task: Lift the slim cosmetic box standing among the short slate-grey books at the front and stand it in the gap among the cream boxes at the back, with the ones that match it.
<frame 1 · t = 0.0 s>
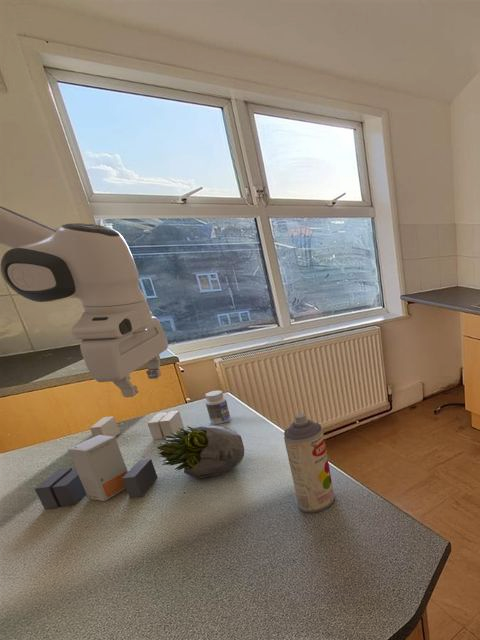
hand: (144, 386, 85), 23 cm above the counter, tool pointing down, fingers open, 8 cm apart
pill bottle: (221, 421, 121), on the counter
aerosol can: (317, 503, 89), on the counter
grey books: (111, 491, 90), on the counter
potted plant: (209, 473, 97), on the counter
cosmetic box: (112, 492, 91), on the counter
white books: (136, 436, 112), on the counter
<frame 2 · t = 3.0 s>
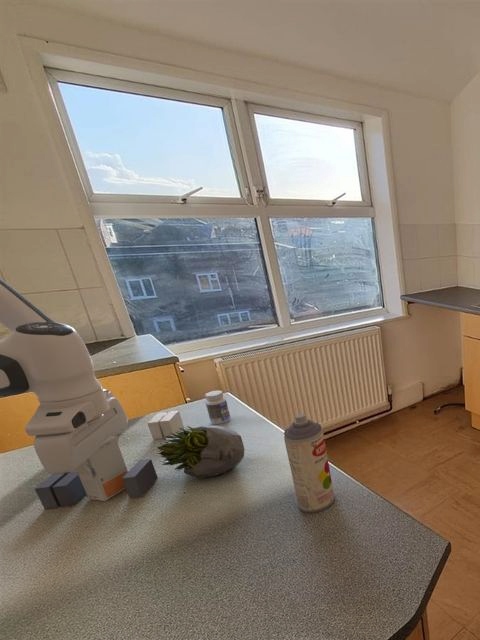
hand: (101, 467, 88), 6 cm above the counter, tool pointing down, fingers closed on cosmetic box, 7 cm apart
cosmetic box: (112, 492, 91), on the counter, touching gripper
everything else where it was.
when the fingers open (6 cm above the counter, at t = 12.0 s): cosmetic box stays where it is, on the counter.
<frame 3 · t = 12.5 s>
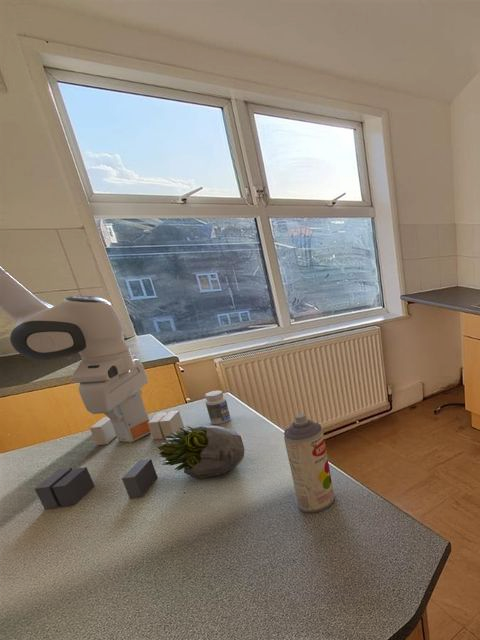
hand: (128, 414, 109), 6 cm above the counter, tool pointing down, fingers open, 8 cm apart
cosmetic box: (136, 437, 112), on the counter
everything else where it was.
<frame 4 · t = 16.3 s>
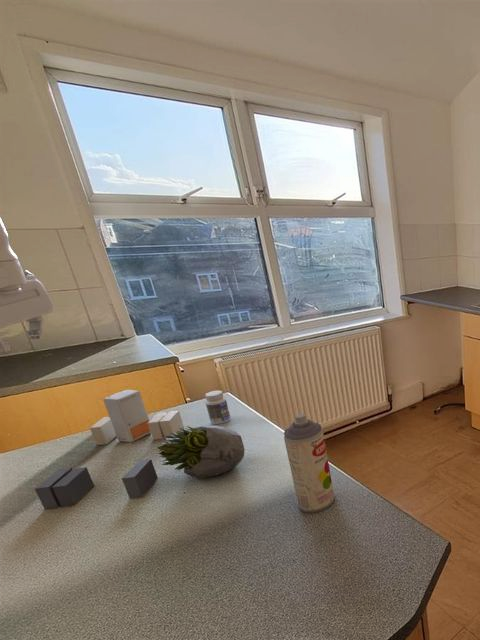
hand: (21, 344, 88), 29 cm above the counter, tool pointing down, fingers open, 8 cm apart
nothing on the counter moved.
at the end: cosmetic box 0.0 cm off-centre on the white books, point 0.0 cm above the white books's base; cosmetic box tilted 0°; the gripper is holding nothing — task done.
